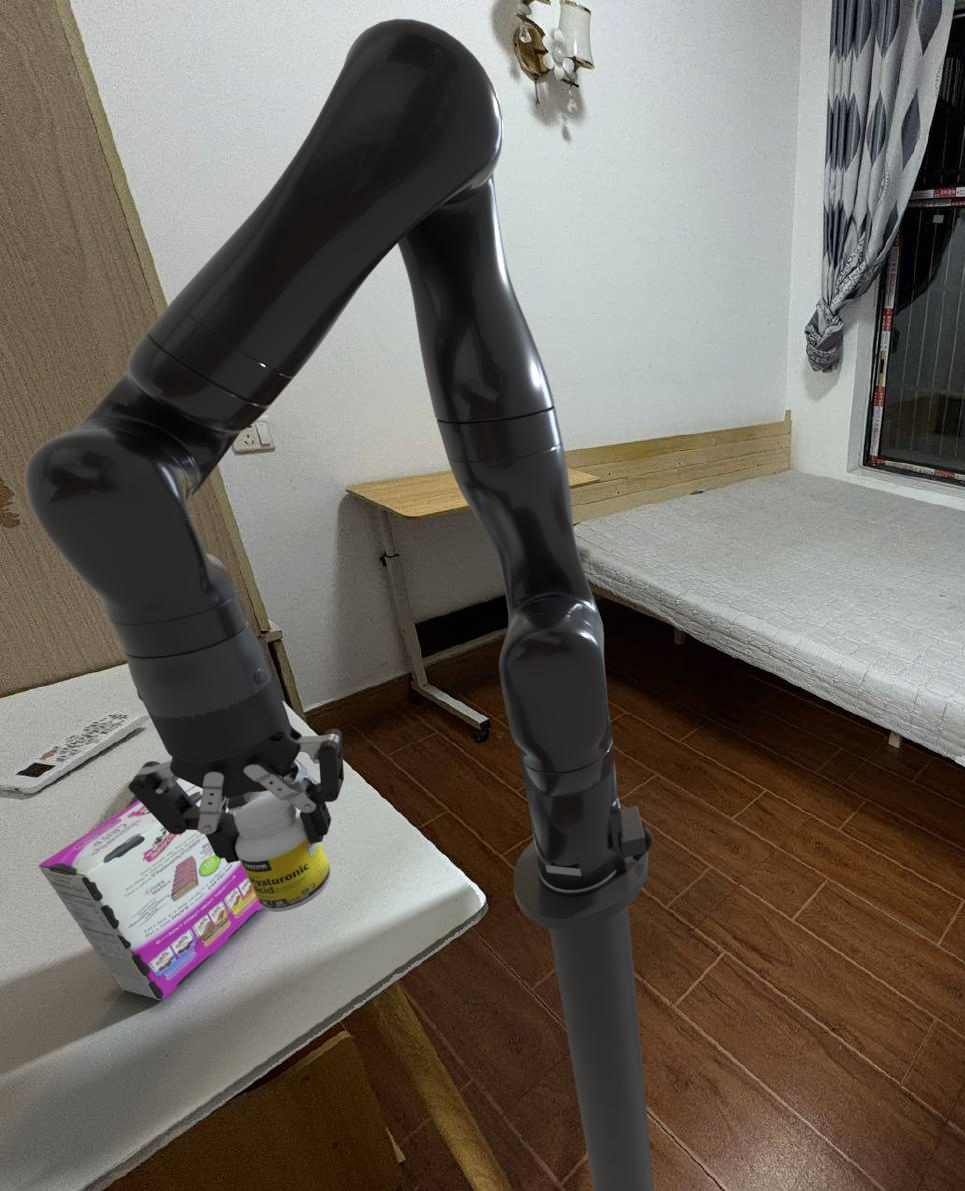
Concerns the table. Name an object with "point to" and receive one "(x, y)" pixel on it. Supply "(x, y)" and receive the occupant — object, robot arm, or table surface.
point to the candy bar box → (151, 897)
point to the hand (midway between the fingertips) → (278, 845)
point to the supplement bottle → (279, 854)
